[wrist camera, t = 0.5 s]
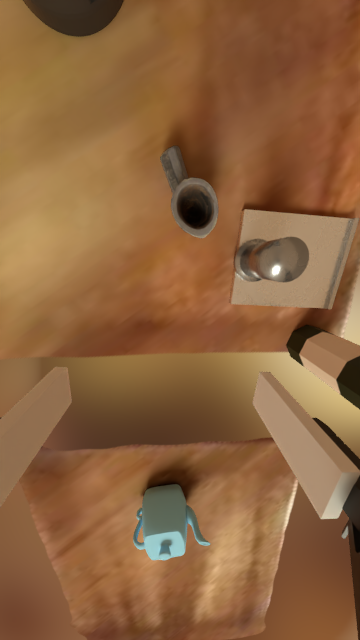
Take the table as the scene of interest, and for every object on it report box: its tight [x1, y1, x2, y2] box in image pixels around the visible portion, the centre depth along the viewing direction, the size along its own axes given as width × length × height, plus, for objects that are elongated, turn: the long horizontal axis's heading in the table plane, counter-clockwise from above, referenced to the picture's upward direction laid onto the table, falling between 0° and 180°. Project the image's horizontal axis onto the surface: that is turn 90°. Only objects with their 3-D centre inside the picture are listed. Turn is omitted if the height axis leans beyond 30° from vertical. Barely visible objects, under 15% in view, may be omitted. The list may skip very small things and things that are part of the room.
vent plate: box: [229, 209, 359, 309], centre depth 30 cm, size 16×21×11 cm
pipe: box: [160, 146, 218, 238], centre depth 28 cm, size 6×13×8 cm, turn 24°
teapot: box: [133, 484, 210, 560], centre depth 47 cm, size 12×18×12 cm
